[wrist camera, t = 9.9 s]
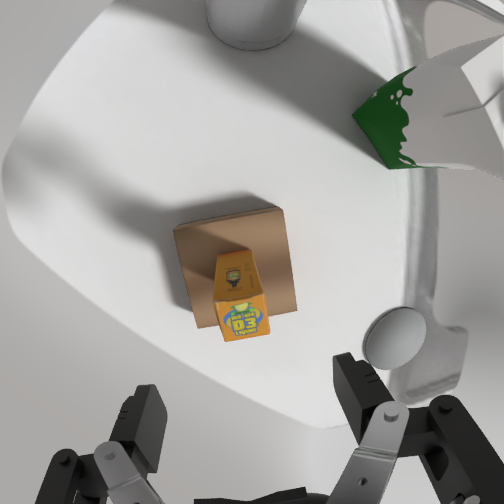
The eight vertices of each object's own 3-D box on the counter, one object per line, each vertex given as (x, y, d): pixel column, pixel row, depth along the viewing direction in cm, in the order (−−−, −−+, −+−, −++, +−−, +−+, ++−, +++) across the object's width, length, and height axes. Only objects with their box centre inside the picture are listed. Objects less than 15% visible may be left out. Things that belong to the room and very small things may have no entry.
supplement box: (223, 289, 29) (220, 345, 19) (216, 254, 28) (208, 296, 18) (258, 283, 29) (271, 336, 19) (252, 247, 28) (264, 287, 18)
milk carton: (387, 181, 30) (539, 203, 11) (339, 111, 28) (472, 48, 9) (435, 140, 29) (576, 135, 10) (392, 74, 27) (522, 15, 8)
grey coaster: (365, 317, 34) (367, 319, 33) (426, 300, 34) (428, 301, 34) (364, 375, 36) (366, 377, 36) (420, 356, 36) (422, 358, 36)
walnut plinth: (178, 224, 30) (173, 230, 27) (278, 206, 30) (282, 209, 27) (200, 315, 32) (197, 328, 29) (291, 298, 33) (297, 310, 30)
